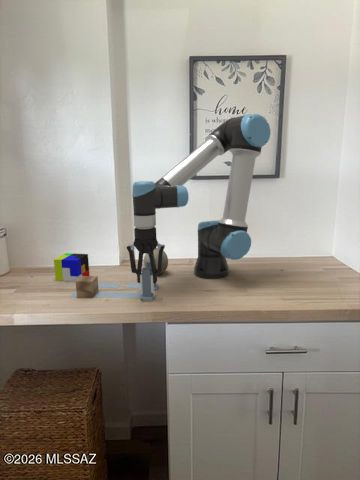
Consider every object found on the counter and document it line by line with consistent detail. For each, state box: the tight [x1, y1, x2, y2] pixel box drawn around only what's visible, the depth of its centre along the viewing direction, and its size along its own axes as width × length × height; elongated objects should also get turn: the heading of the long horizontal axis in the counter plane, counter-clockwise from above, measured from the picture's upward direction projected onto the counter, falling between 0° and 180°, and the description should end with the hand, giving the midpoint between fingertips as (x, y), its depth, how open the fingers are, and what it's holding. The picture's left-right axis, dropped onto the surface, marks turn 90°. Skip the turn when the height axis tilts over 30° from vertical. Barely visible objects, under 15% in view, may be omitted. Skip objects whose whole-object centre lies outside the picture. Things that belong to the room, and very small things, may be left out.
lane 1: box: [69, 266, 155, 302], centre depth 126 cm, size 30×5×11 cm, turn 85°
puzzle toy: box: [53, 252, 91, 283], centre depth 146 cm, size 10×10×10 cm
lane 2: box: [124, 260, 159, 292], centre depth 134 cm, size 12×5×11 cm, turn 85°
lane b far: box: [98, 282, 121, 289], centre depth 137 cm, size 15×5×1 cm, turn 85°
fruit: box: [143, 246, 169, 276], centre depth 152 cm, size 10×12×15 cm
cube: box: [75, 275, 100, 299], centre depth 127 cm, size 6×6×6 cm
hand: (147, 291), depth 125 cm, fingers closed on lane 1, 3 cm apart
